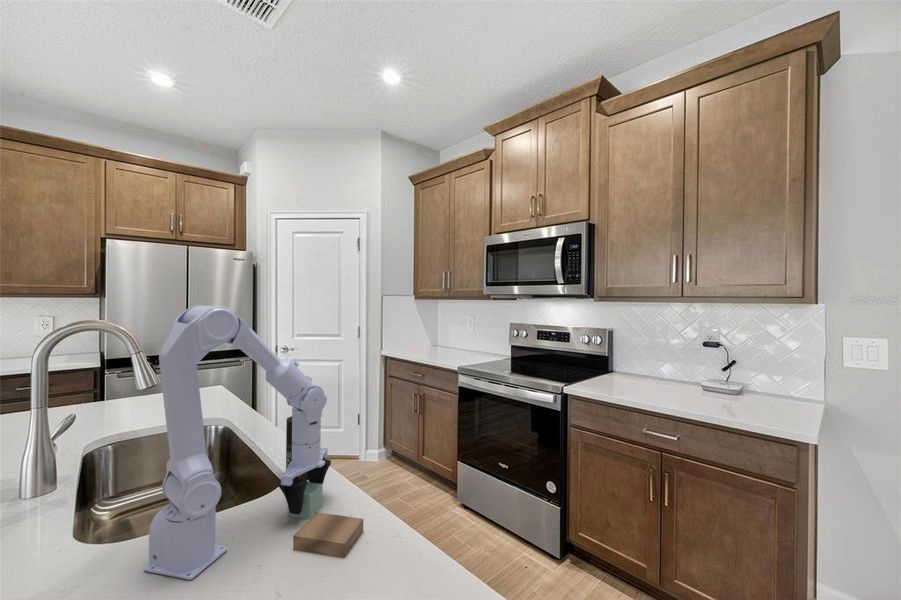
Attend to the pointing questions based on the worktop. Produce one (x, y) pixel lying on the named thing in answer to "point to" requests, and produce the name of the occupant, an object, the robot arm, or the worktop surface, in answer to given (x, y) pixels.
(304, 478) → the deodorant
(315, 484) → the sage cube
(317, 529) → the walnut block
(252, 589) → the worktop surface
